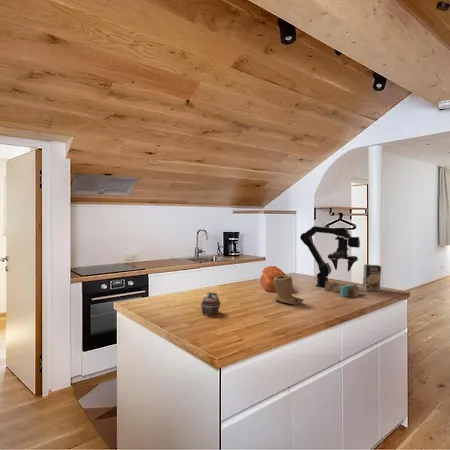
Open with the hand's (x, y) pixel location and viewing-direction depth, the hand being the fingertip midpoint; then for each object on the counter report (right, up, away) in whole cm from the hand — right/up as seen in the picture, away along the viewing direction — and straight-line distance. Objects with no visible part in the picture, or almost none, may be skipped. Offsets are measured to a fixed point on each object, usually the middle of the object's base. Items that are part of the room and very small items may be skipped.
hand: (342, 270), depth 227 cm
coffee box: (+18, -13, -3) cm, 22 cm away
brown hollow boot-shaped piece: (-43, -14, -34) cm, 56 cm away
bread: (-44, -12, +5) cm, 46 cm away
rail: (-5, -13, -12) cm, 18 cm away
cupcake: (-84, -14, -55) cm, 101 cm away
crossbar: (-2, -13, -16) cm, 21 cm away
